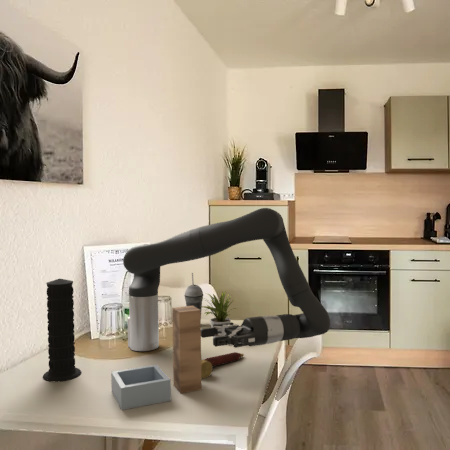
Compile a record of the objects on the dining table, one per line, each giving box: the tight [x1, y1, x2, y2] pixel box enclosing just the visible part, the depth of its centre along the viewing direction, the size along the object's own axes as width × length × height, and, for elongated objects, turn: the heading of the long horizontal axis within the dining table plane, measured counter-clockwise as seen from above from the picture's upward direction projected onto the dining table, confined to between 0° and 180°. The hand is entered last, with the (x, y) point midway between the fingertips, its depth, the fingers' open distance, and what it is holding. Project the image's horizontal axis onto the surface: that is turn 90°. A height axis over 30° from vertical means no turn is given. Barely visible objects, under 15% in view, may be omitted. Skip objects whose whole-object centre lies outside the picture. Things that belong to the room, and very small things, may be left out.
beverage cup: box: [184, 272, 204, 312], centre depth 178 cm, size 7×7×20 cm
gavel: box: [201, 351, 245, 379], centre depth 134 cm, size 21×5×10 cm
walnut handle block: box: [171, 305, 202, 394], centre depth 117 cm, size 6×6×20 cm
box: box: [110, 364, 172, 411], centre depth 113 cm, size 12×12×5 cm
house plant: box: [201, 291, 238, 339], centre depth 163 cm, size 14×14×16 cm
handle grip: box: [42, 278, 82, 383], centre depth 127 cm, size 10×26×10 cm
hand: (207, 337), depth 120 cm, fingers open, 8 cm apart
